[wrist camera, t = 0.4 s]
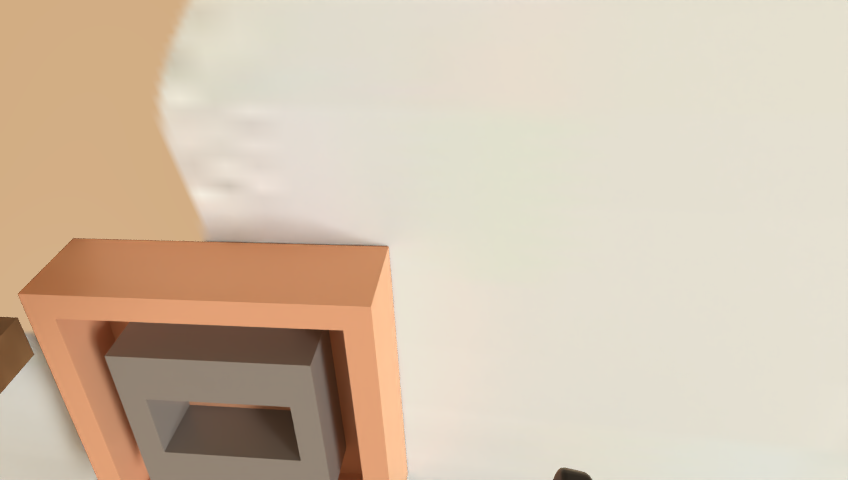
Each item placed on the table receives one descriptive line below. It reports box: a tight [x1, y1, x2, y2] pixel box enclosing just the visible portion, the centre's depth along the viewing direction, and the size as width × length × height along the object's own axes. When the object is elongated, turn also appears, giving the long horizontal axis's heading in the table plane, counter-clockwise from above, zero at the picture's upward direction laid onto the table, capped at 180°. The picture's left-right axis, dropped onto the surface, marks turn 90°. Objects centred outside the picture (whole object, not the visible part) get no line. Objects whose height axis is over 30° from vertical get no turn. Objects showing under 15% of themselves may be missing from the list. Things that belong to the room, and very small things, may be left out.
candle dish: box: [18, 238, 408, 480], centre depth 28 cm, size 12×12×4 cm
